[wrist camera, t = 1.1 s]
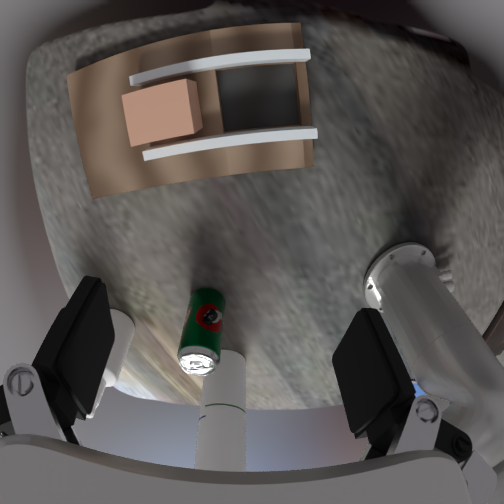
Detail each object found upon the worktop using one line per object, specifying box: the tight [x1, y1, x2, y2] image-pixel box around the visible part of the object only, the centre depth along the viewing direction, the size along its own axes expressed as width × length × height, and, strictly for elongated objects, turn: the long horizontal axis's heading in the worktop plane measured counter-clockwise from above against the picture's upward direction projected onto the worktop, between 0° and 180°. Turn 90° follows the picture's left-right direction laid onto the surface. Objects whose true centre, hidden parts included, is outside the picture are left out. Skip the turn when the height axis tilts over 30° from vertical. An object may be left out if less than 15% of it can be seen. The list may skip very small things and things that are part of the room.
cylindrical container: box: [195, 350, 246, 472], centre depth 38 cm, size 7×7×25 cm
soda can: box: [177, 288, 225, 376], centre depth 36 cm, size 5×5×12 cm
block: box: [121, 79, 203, 147], centre depth 23 cm, size 6×5×5 cm
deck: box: [67, 23, 314, 199], centre depth 26 cm, size 26×16×2 cm, turn 96°
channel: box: [129, 49, 318, 161], centre depth 24 cm, size 17×9×2 cm, turn 96°
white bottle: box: [86, 309, 135, 418], centre depth 36 cm, size 7×7×18 cm
